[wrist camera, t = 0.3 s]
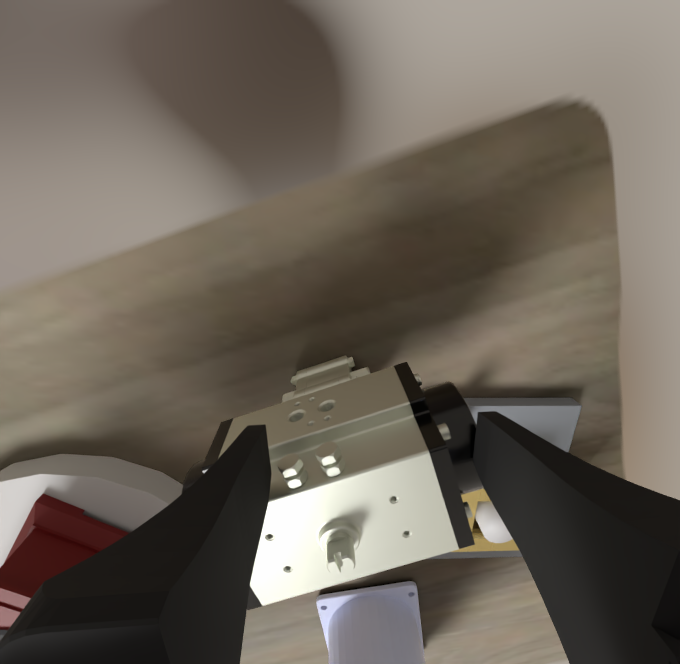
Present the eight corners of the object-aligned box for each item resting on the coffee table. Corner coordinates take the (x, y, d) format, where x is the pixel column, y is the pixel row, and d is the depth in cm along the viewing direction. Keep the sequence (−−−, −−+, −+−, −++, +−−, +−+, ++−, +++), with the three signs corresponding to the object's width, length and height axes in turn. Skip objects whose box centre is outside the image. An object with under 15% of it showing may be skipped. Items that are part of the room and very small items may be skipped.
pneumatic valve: (429, 386, 23) (531, 564, 12) (258, 441, 24) (204, 656, 13) (406, 307, 21) (503, 432, 10) (221, 370, 22) (120, 549, 11)
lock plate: (531, 544, 28) (565, 599, 25) (397, 547, 28) (410, 605, 24) (571, 397, 24) (620, 436, 20) (413, 398, 23) (432, 438, 20)
